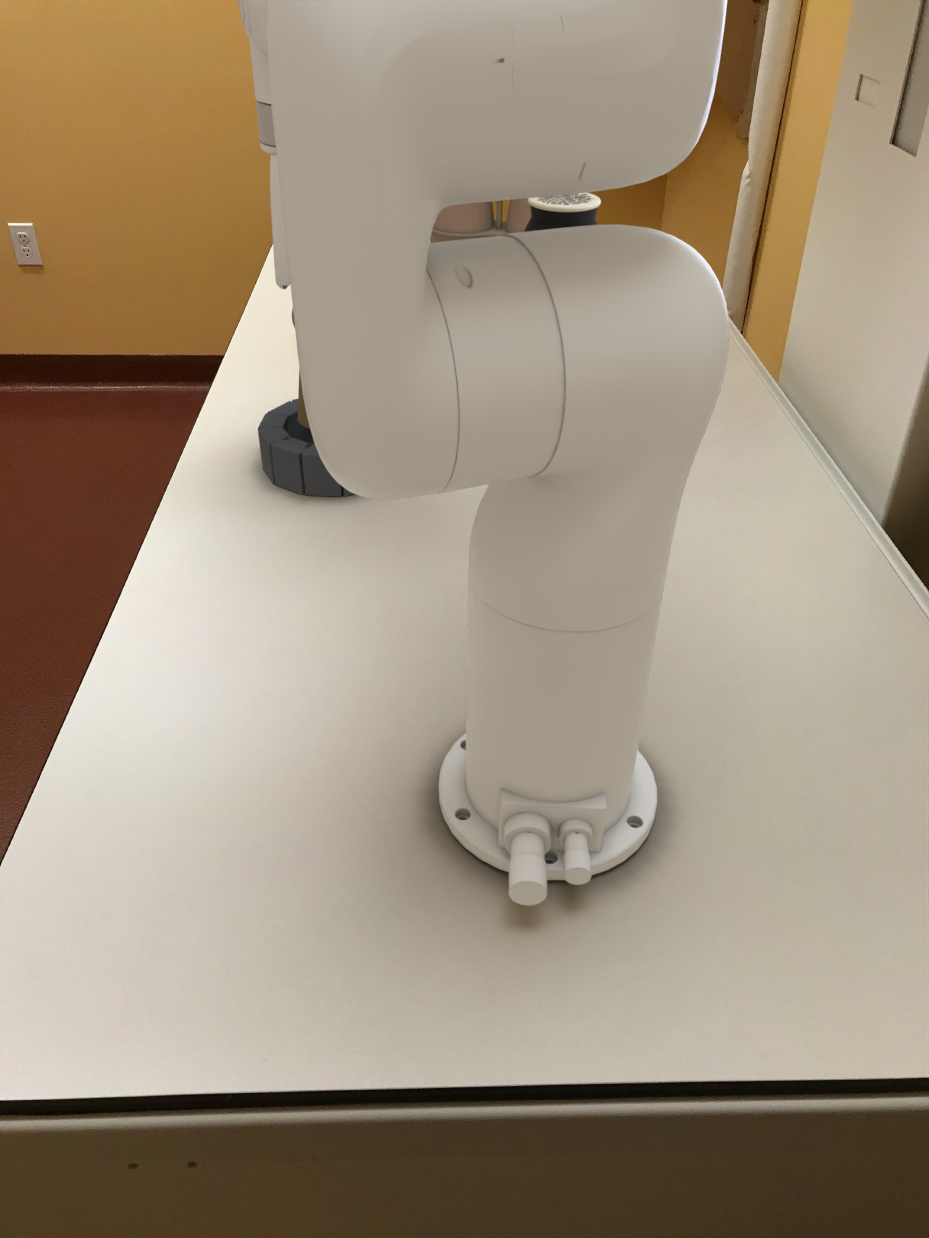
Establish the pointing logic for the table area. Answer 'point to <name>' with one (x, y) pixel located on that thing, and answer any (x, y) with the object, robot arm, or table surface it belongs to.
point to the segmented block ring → (294, 454)
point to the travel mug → (562, 211)
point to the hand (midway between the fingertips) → (326, 355)
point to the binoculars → (479, 220)
